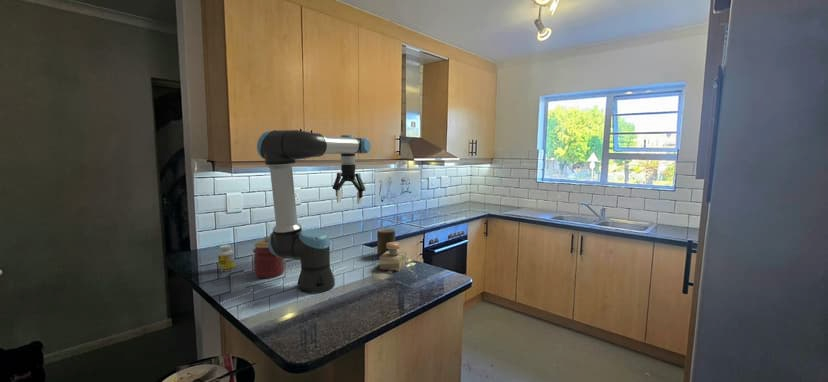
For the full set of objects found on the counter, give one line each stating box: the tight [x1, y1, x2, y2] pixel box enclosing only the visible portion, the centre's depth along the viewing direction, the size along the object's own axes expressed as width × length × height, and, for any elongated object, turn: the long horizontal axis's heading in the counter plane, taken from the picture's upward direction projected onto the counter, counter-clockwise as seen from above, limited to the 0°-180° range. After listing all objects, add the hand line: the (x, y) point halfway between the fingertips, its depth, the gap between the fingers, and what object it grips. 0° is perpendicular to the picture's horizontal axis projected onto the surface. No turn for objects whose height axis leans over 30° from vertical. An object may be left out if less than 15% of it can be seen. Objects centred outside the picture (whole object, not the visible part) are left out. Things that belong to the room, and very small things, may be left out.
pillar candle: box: [376, 228, 396, 258], centre depth 187 cm, size 10×10×15 cm
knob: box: [386, 241, 400, 257], centre depth 169 cm, size 6×6×8 cm
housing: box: [378, 251, 407, 272], centre depth 169 cm, size 10×10×6 cm
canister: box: [252, 235, 285, 279], centre depth 160 cm, size 13×13×18 cm
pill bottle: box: [217, 244, 235, 272], centre depth 165 cm, size 6×6×12 cm
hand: (349, 203), depth 190 cm, fingers open, 13 cm apart
